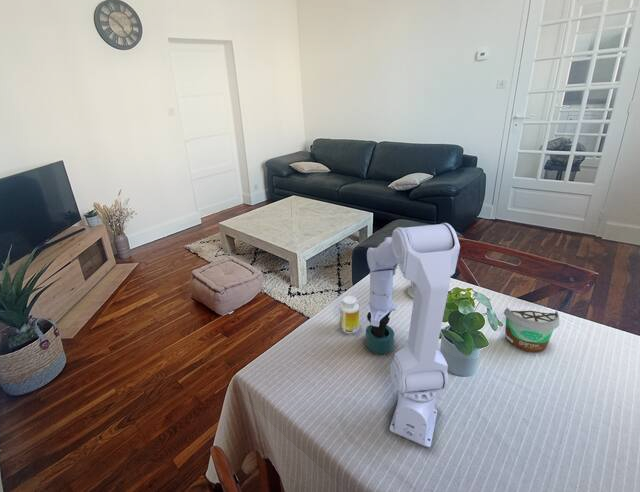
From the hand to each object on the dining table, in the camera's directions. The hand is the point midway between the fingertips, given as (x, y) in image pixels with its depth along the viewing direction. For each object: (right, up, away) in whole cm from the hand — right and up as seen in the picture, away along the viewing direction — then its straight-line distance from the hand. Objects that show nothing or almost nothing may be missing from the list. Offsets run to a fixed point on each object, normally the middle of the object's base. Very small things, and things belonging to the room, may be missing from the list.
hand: (379, 332), depth 93 cm
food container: (+38, -3, -4) cm, 39 cm away
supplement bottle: (-6, -2, +9) cm, 11 cm away
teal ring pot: (0, -4, +2) cm, 4 cm away
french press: (+20, +17, +17) cm, 32 cm away
